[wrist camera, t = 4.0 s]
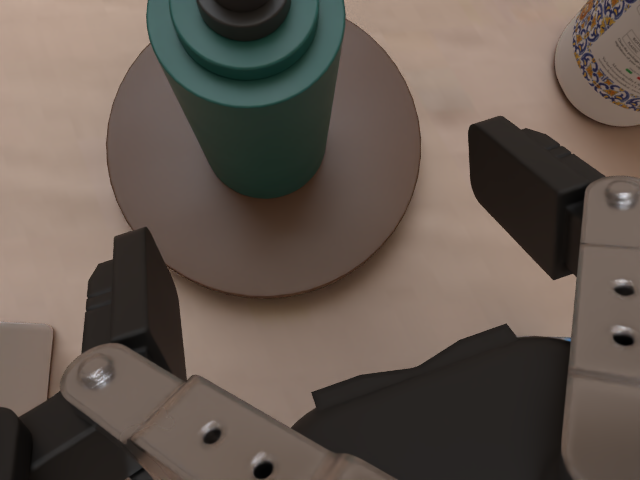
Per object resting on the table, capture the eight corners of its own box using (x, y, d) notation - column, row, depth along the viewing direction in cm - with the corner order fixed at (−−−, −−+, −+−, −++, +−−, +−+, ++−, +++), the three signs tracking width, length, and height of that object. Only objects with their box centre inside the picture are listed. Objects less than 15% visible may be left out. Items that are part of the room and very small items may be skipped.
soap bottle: (475, 196, 29) (653, 56, 14) (210, 360, 27) (114, 385, 13) (315, -42, 31) (333, -376, 16) (57, 96, 29) (-180, -144, 14)
